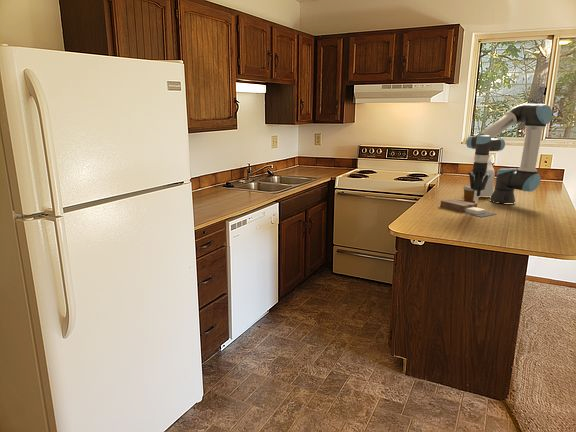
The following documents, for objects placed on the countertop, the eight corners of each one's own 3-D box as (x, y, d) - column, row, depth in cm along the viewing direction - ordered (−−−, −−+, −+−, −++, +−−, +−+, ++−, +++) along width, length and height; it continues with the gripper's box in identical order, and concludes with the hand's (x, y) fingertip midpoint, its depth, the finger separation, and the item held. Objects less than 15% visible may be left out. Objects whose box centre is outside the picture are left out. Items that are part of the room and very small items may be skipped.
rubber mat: (478, 210, 264) (478, 209, 264) (496, 214, 254) (496, 213, 254) (463, 212, 256) (463, 212, 256) (481, 217, 246) (481, 216, 246)
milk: (486, 194, 314) (491, 159, 308) (492, 198, 303) (497, 161, 296) (469, 194, 315) (474, 158, 309) (474, 197, 304) (480, 160, 297)
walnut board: (454, 204, 278) (454, 198, 277) (476, 210, 265) (477, 203, 264) (440, 206, 270) (440, 200, 269) (462, 212, 257) (462, 205, 256)
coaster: (473, 209, 263) (473, 206, 262) (485, 212, 256) (485, 209, 256) (465, 211, 259) (465, 208, 258) (476, 214, 252) (477, 210, 251)
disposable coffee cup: (463, 202, 286) (465, 184, 283) (478, 204, 281) (480, 186, 278) (459, 204, 278) (462, 186, 275) (475, 206, 273) (477, 188, 270)
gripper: (467, 160, 254) (462, 199, 260) (487, 163, 244) (481, 203, 250) (474, 160, 258) (469, 198, 264) (494, 162, 248) (489, 202, 254)
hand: (475, 201), depth 257 cm, fingers closed
